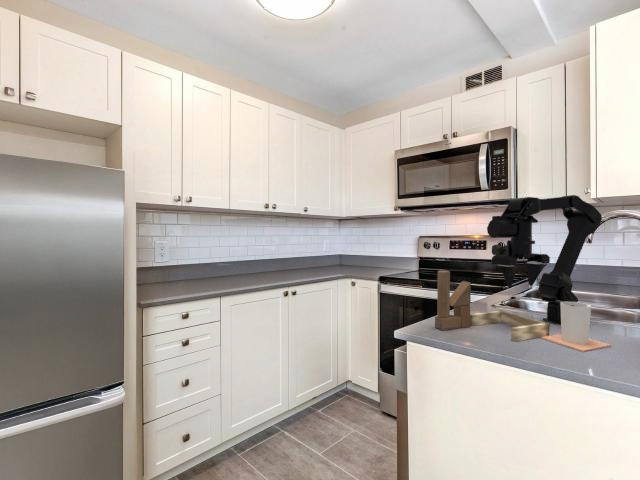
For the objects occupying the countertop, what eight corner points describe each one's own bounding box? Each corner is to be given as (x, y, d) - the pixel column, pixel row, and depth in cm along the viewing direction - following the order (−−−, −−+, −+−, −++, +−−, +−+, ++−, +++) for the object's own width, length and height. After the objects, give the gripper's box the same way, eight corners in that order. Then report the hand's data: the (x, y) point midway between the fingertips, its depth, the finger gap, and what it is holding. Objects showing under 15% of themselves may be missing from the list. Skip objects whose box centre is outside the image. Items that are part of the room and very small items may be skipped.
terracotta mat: (567, 333, 98) (567, 332, 98) (611, 346, 88) (611, 344, 88) (540, 338, 95) (540, 337, 95) (582, 351, 84) (583, 350, 84)
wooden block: (470, 327, 106) (471, 270, 105) (442, 330, 102) (442, 272, 102) (462, 324, 109) (462, 269, 109) (434, 327, 106) (434, 270, 105)
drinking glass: (554, 339, 93) (555, 303, 92) (567, 335, 96) (568, 300, 95) (582, 346, 87) (583, 308, 87) (595, 342, 90) (596, 305, 90)
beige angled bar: (501, 320, 112) (501, 310, 112) (549, 335, 97) (549, 323, 97) (469, 325, 108) (469, 314, 108) (514, 341, 92) (514, 328, 92)
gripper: (519, 236, 117) (519, 280, 118) (478, 237, 111) (477, 284, 111) (551, 237, 107) (550, 285, 107) (507, 238, 100) (506, 290, 101)
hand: (520, 286), depth 107 cm, fingers open, 9 cm apart
